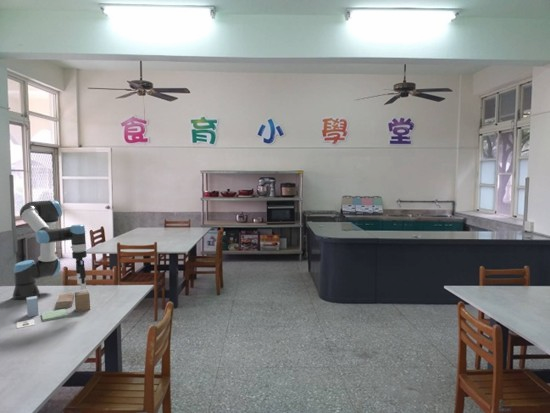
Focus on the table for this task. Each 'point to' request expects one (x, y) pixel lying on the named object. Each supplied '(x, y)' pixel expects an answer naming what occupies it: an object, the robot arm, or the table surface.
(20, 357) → the table surface
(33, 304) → the bluegrey block
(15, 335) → the table surface
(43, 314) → the pad
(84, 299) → the walnut block
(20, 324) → the page
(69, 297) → the brick
